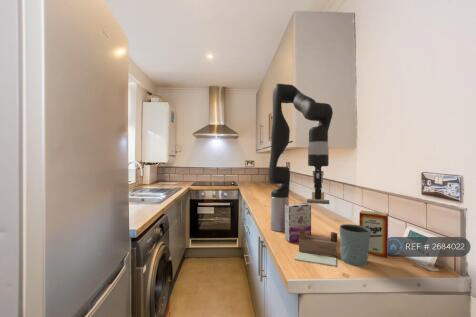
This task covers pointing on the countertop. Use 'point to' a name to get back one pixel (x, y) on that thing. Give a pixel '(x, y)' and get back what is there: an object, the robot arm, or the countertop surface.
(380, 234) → the baking soda box
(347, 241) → the teal cup
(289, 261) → the countertop surface
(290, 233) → the candy bar box
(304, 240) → the body
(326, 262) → the mat
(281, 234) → the countertop surface
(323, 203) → the lever cap
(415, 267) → the countertop surface
